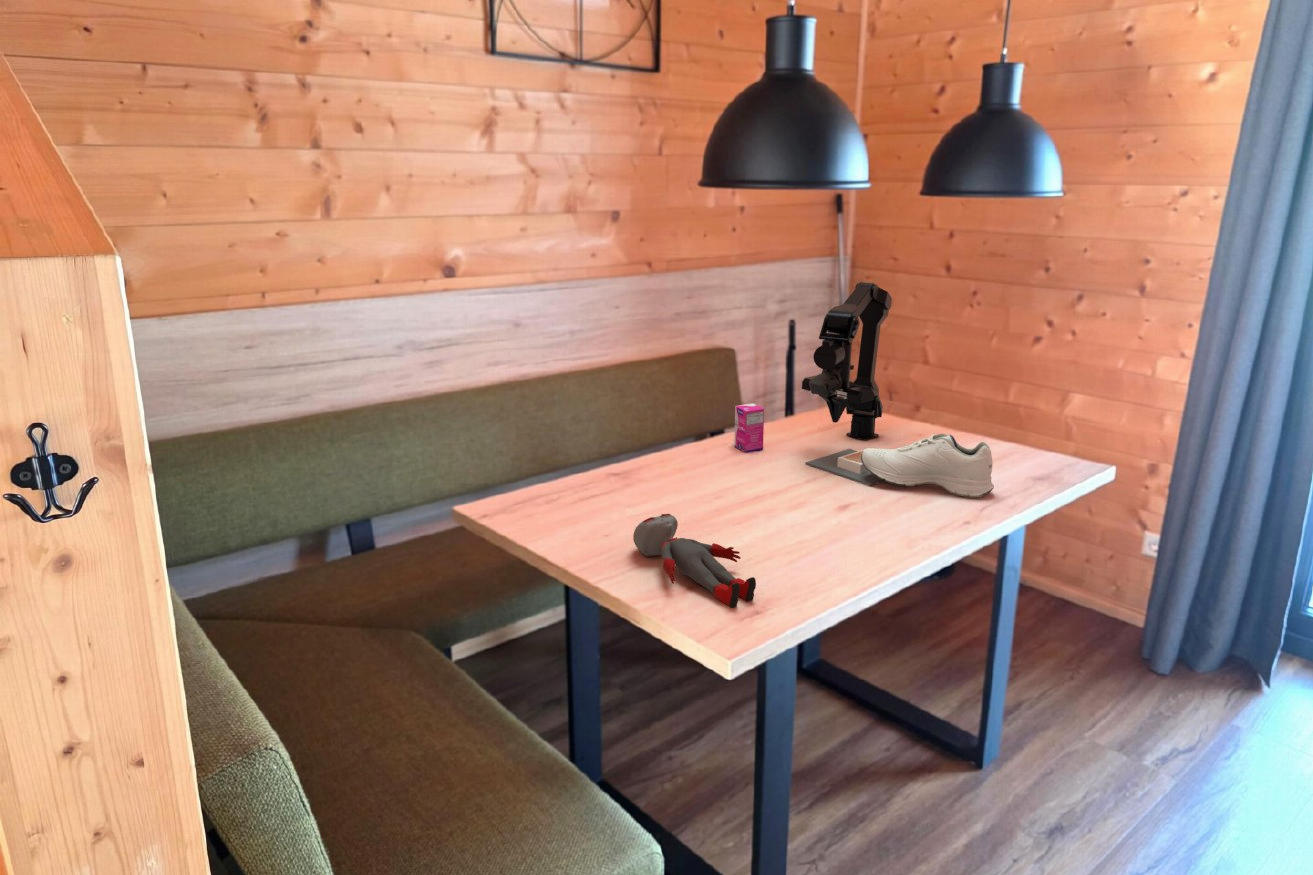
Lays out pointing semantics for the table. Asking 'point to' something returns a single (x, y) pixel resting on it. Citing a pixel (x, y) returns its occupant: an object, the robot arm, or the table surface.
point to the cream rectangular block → (852, 462)
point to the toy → (692, 559)
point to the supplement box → (749, 427)
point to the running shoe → (934, 465)
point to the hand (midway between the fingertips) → (835, 422)
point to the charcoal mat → (830, 466)
